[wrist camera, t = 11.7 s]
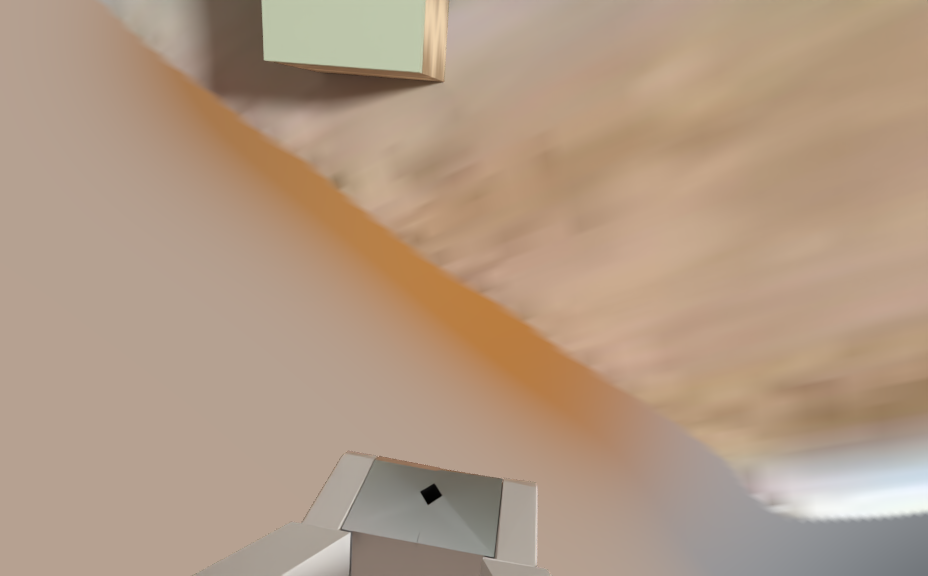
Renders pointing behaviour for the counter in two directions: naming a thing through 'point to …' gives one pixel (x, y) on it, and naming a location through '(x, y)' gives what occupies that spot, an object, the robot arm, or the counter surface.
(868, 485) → the counter surface
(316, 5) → the lid
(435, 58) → the box
